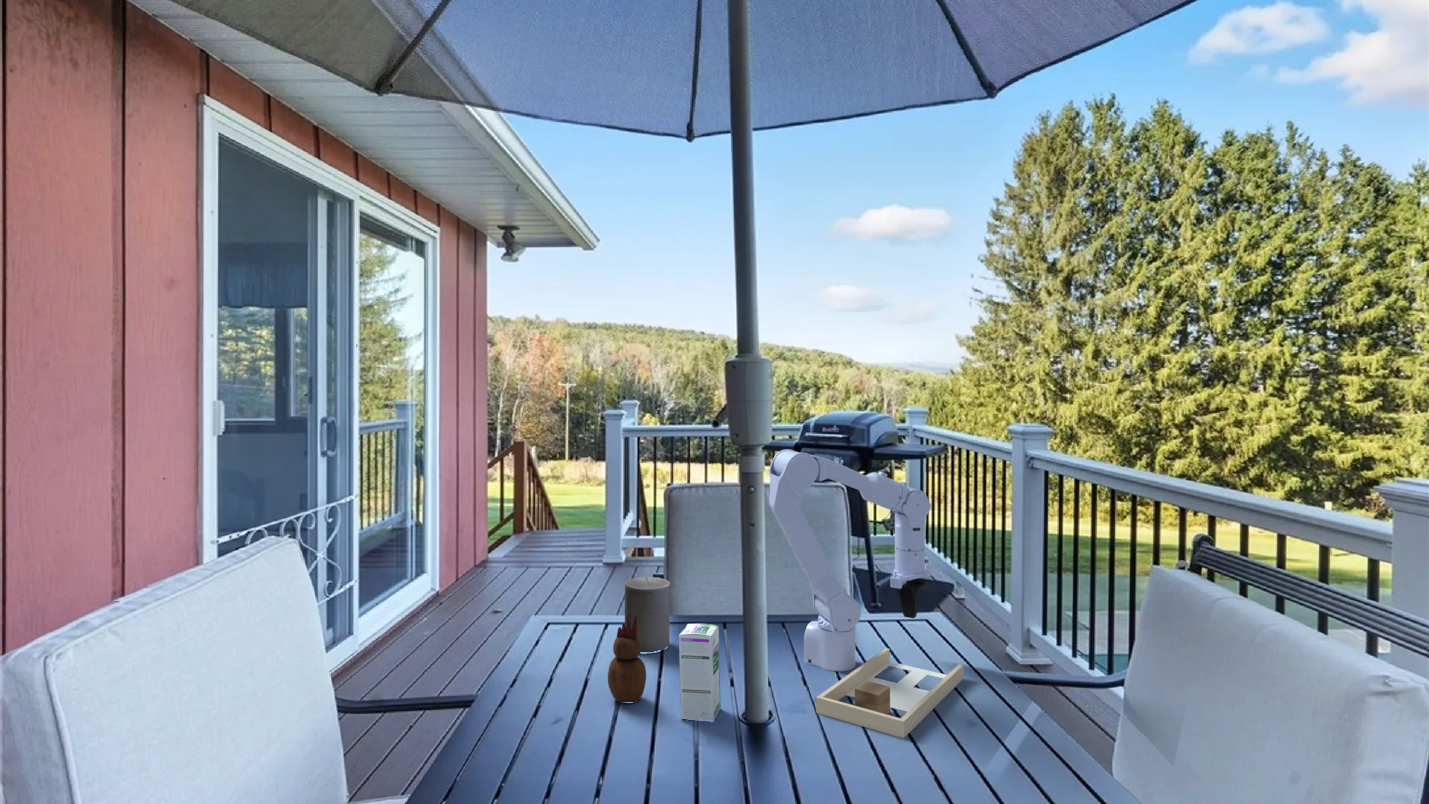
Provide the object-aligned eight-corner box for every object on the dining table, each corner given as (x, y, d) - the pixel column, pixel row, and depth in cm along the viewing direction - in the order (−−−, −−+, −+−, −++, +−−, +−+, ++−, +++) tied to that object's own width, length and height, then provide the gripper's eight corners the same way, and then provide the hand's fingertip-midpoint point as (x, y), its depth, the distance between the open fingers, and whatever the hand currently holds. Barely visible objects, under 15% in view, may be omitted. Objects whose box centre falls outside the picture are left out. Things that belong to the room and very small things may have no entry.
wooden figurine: (652, 700, 128) (651, 615, 128) (627, 710, 124) (626, 623, 124) (627, 689, 133) (626, 607, 132) (602, 699, 128) (601, 615, 128)
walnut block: (854, 714, 119) (854, 688, 119) (867, 705, 122) (866, 680, 122) (878, 721, 116) (878, 695, 116) (890, 712, 119) (890, 687, 119)
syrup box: (714, 723, 119) (713, 635, 119) (679, 720, 120) (678, 633, 120) (720, 708, 124) (720, 624, 124) (687, 705, 126) (686, 622, 125)
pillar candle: (616, 652, 152) (616, 580, 151) (635, 636, 161) (635, 569, 161) (660, 657, 149) (660, 584, 148) (676, 641, 158) (676, 572, 158)
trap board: (816, 721, 119) (816, 697, 119) (885, 668, 142) (885, 648, 142) (903, 747, 110) (903, 721, 110) (963, 686, 133) (963, 665, 133)
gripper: (915, 557, 135) (915, 630, 136) (942, 544, 147) (942, 611, 147) (880, 553, 140) (880, 623, 140) (908, 540, 151) (909, 605, 151)
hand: (909, 616), depth 144 cm, fingers closed
